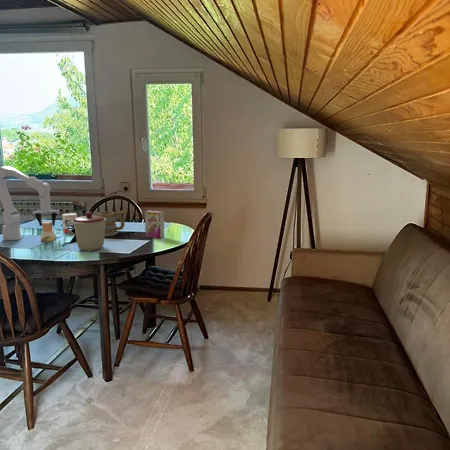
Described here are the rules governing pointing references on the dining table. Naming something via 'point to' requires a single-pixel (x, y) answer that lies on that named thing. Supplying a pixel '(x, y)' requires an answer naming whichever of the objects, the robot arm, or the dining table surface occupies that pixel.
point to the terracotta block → (47, 226)
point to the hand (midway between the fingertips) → (47, 225)
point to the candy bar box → (154, 224)
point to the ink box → (68, 221)
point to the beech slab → (48, 238)
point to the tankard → (112, 222)
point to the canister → (89, 231)
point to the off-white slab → (47, 233)
